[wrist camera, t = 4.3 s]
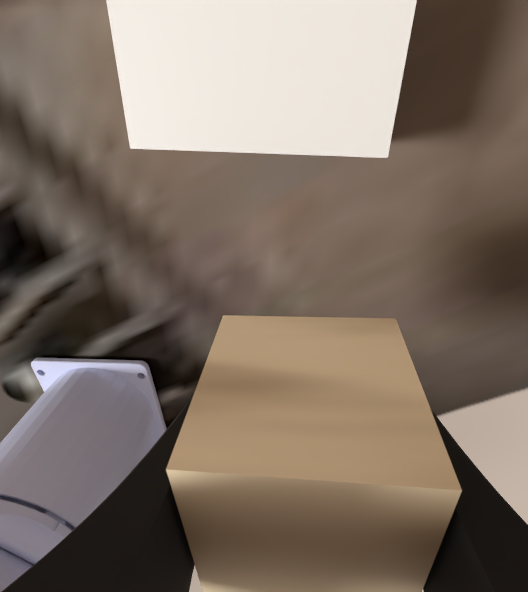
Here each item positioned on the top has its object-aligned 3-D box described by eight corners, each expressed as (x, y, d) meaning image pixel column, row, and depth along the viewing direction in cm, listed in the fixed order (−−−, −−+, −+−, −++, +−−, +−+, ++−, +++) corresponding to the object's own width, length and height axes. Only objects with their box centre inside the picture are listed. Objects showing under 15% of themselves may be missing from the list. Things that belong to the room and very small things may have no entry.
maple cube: (375, 435, 12) (411, 615, 8) (237, 427, 13) (203, 592, 9) (395, 318, 10) (461, 489, 6) (223, 315, 11) (166, 470, 6)
